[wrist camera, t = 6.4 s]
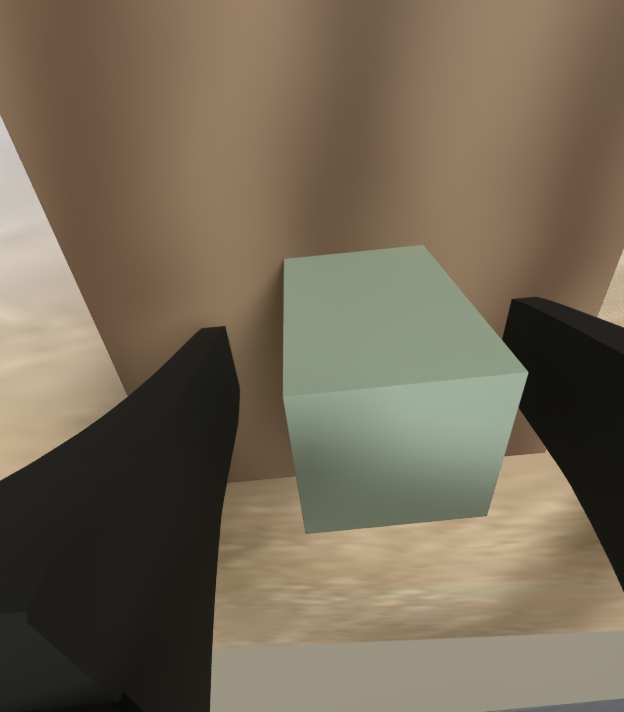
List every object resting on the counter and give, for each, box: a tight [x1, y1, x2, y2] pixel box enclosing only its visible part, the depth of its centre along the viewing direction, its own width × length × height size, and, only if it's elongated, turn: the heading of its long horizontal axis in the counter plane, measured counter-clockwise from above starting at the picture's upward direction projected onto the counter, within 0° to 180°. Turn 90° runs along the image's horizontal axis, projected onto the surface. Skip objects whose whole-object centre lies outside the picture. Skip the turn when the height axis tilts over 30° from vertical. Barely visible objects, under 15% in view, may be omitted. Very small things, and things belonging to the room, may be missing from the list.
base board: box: [0, 0, 624, 483], centre depth 13 cm, size 16×16×2 cm
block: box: [283, 245, 528, 534], centre depth 10 cm, size 4×4×6 cm
